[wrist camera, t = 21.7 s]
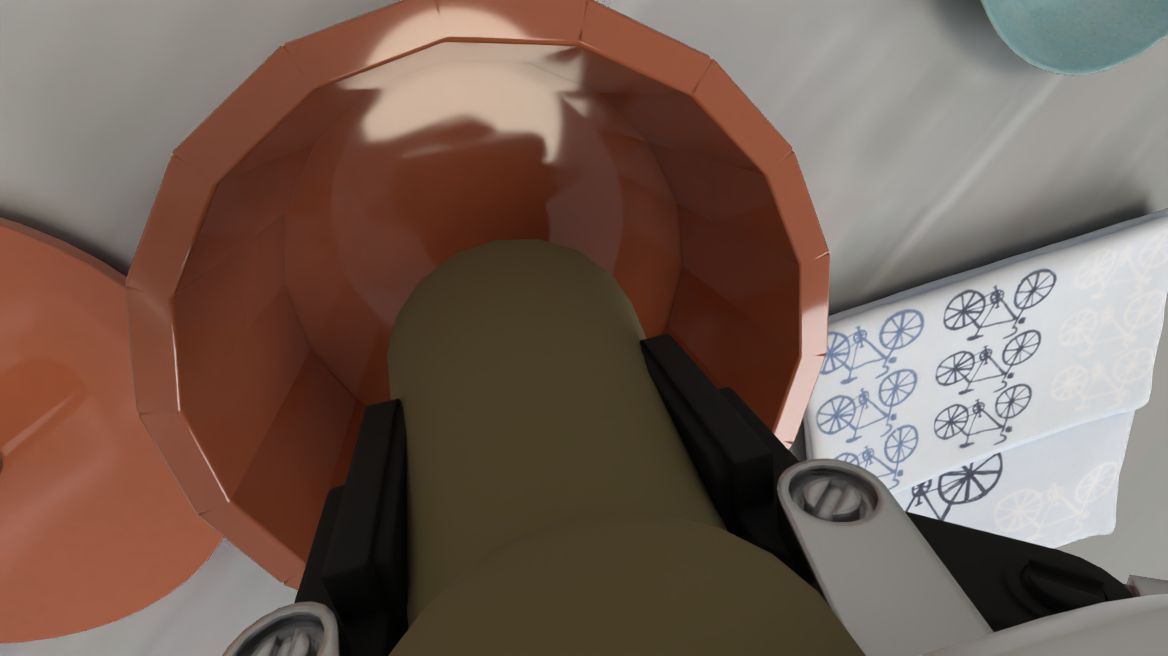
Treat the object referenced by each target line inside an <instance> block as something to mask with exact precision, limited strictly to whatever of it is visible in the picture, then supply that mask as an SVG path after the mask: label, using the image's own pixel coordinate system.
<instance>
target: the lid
mask: <svg viewBox="0 0 1168 656" xmlns="http://www.w3.org/2000/svg"><path fill="white" fill-rule="evenodd" d="M125 280H126V276H124V275H123V274H121V273H120V272H118V271H117V270H115V269H114V268H112V267H111V266H109V265H108V264H106V263H105V262H103V261H101V260H99V259H97V258H95V257H94V256H92V255H90V254H88V253H86V252H84V251H82V250H80V249H78V248H76V247H74V246H73V245H71V244H69V243H67V242H65V241H63V240H60V239H58V238H55V237H53V236H50V235H48V234H46V233H43V232H41V231H38V230H36V229H33V228H31V227H28V226H26V225H23V224H21V223H18V222H14V221H11V220H8V219H5V218H1V217H0V644H1V643H18V642H27V641H35V640H42V639H49V638H56V637H60V636H65V635H69V634H74V633H78V632H82V631H87V630H90V629H93V628H96V627H99V626H102V625H105V624H108V623H111V622H115V621H117V620H120V619H122V618H124V617H126V616H129V615H131V614H133V613H135V612H138V611H140V610H142V609H144V608H146V607H148V606H149V605H151V604H153V603H154V602H156V601H158V600H160V599H161V598H163V597H165V596H167V595H168V594H169V593H171V592H172V591H173V590H175V589H176V588H177V587H179V586H180V585H181V584H183V583H184V582H185V581H186V580H188V579H189V578H190V577H191V576H192V575H193V574H194V573H195V572H196V571H197V570H198V569H199V568H200V567H201V566H202V565H203V564H204V563H205V562H206V561H207V560H208V559H209V557H210V556H211V555H212V553H213V552H214V551H215V549H216V548H217V546H218V545H219V544H220V542H221V541H222V539H223V536H222V535H221V534H219V533H218V532H217V531H216V530H214V529H213V528H212V527H211V526H209V525H208V524H207V523H206V522H204V521H203V520H202V519H201V518H199V516H198V513H195V512H194V511H193V509H192V507H191V505H190V504H189V502H188V500H187V498H186V497H185V495H184V493H183V492H182V490H181V488H180V486H179V485H178V483H177V481H176V480H175V478H174V476H173V474H172V473H171V471H170V469H169V467H168V466H167V464H166V462H165V461H164V459H163V457H162V455H161V454H160V452H159V450H158V449H157V447H156V445H155V443H154V442H153V440H152V438H151V436H150V435H149V433H148V431H147V430H146V428H145V426H144V424H143V423H142V421H141V419H140V418H139V412H137V410H136V401H135V392H134V382H133V372H132V363H131V353H130V343H129V333H128V324H127V314H126V304H125V295H124V288H125V286H126V285H125Z"/></svg>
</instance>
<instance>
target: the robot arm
mask: <svg viewBox="0 0 1168 656" xmlns="http://www.w3.org/2000/svg"><path fill="white" fill-rule="evenodd" d="M640 345H641V350H642V353H643V356H644V359H645V363H646V366H647V370H648V372H649V374H650V376H651V377H652V379H653V381H654V383H655V385H656V387H657V389H658V391H659V393H660V395H661V397H662V399H663V401H664V403H665V405H666V407H667V410H668V412H669V414H670V416H671V418H672V420H673V422H674V424H675V426H676V428H677V430H678V432H679V434H680V436H681V438H682V440H683V442H684V444H685V446H686V448H687V451H688V453H689V455H690V457H691V459H692V461H693V463H694V465H695V467H696V469H697V471H698V473H699V475H700V477H701V479H702V481H703V483H704V485H705V487H706V490H707V492H708V494H709V496H710V498H711V500H712V502H713V504H714V506H715V508H716V510H717V512H718V514H719V516H720V517H721V518H722V519H723V521H724V523H725V526H726V528H727V531H728V532H729V533H731V534H733V535H735V536H737V537H739V538H741V539H743V540H745V541H747V542H749V543H751V544H753V545H755V546H757V547H759V548H761V549H763V550H765V551H767V552H769V553H771V554H773V555H774V556H776V557H777V558H778V559H779V560H780V561H782V562H783V563H784V564H785V565H786V566H788V567H789V568H790V569H791V570H792V571H794V572H795V573H796V574H797V575H798V576H800V577H801V578H802V579H803V580H804V581H805V582H807V583H808V584H809V585H810V586H811V587H813V588H814V589H815V590H816V591H817V592H819V594H820V595H821V596H822V597H823V599H824V600H825V601H826V603H827V604H828V605H829V607H830V608H831V609H832V611H833V612H834V613H835V615H836V616H837V617H838V619H839V620H840V621H841V623H842V624H843V625H844V627H845V628H846V629H847V631H848V632H849V633H850V635H851V636H852V637H853V639H854V640H855V641H856V643H857V644H858V645H859V647H860V648H861V649H862V651H863V652H864V653H865V655H866V656H1168V581H1167V580H1160V579H1154V578H1147V577H1141V576H1134V575H1129V578H1128V581H1127V584H1122V583H1121V582H1120V581H1118V580H1117V579H1116V578H1114V577H1113V576H1112V575H1110V574H1109V573H1107V572H1106V571H1105V570H1103V569H1102V568H1100V567H1098V566H1096V565H1094V564H1092V563H1090V562H1088V561H1086V560H1084V559H1082V558H1080V557H1077V556H1074V555H1071V554H1069V553H1066V552H1063V551H1060V550H1056V549H1053V548H1049V547H1045V546H1041V545H1037V544H1033V543H1029V542H1025V541H1021V540H1017V539H1013V538H1009V537H1005V536H1001V535H997V534H993V533H989V532H985V531H981V530H977V529H973V528H970V527H966V526H962V525H958V524H954V523H950V522H946V521H942V520H938V519H934V518H930V517H926V516H922V515H918V514H914V513H910V512H906V511H904V510H903V508H902V507H901V506H900V504H899V503H898V502H897V500H896V499H895V498H894V496H893V495H892V494H891V492H890V491H889V490H888V488H887V487H886V485H885V484H884V483H883V482H882V481H881V480H880V479H879V478H878V477H877V476H876V475H874V474H873V473H871V472H869V471H868V470H866V469H864V468H863V467H861V466H858V465H855V464H852V463H849V462H846V461H842V460H835V459H829V458H826V459H810V460H806V461H802V462H799V461H798V460H797V459H796V458H795V456H794V455H793V454H792V453H791V452H790V451H789V450H788V449H787V448H786V447H785V446H784V445H783V443H782V442H781V441H780V440H779V439H778V438H777V437H776V436H775V435H774V434H773V433H772V432H771V430H770V429H769V428H768V427H767V426H766V425H765V424H764V423H763V422H762V421H761V420H760V418H759V417H758V416H757V415H756V414H755V413H754V412H753V411H752V410H751V409H750V408H749V407H748V405H747V404H746V403H745V402H744V401H743V400H742V399H741V398H740V397H739V396H738V395H737V394H736V392H735V391H734V390H732V389H731V388H730V387H723V388H719V389H717V388H716V387H715V385H714V384H713V383H712V382H711V381H710V380H709V379H708V377H707V376H706V375H705V374H704V373H703V372H702V371H701V369H700V368H699V367H698V366H697V365H696V364H695V363H694V361H693V360H692V359H691V358H690V357H689V356H688V355H687V353H686V352H685V351H684V350H683V349H682V348H681V347H680V345H679V344H678V343H677V342H676V341H675V340H674V339H673V337H672V336H671V335H670V334H664V335H660V336H656V337H652V338H647V339H643V340H640ZM407 604H408V591H407V455H406V425H405V418H404V411H403V406H401V401H400V400H399V399H394V400H389V401H385V402H381V403H377V404H373V405H369V406H366V408H365V412H364V416H363V419H362V423H361V427H360V431H359V434H358V438H357V442H356V446H355V449H354V453H353V457H352V460H351V464H350V468H349V472H348V475H347V479H346V483H345V485H341V486H337V487H334V488H332V489H331V490H330V491H329V493H328V495H327V497H326V501H325V504H324V507H323V511H322V514H321V517H320V520H319V524H318V527H317V530H316V534H315V537H314V540H313V543H312V547H311V550H310V553H309V557H308V560H307V563H306V566H305V570H304V573H303V576H302V580H301V583H300V586H299V589H298V593H297V596H296V599H295V602H294V604H291V605H287V606H284V607H281V608H278V609H277V610H275V611H273V612H271V613H269V614H267V615H265V616H263V617H261V618H260V619H259V620H257V621H256V622H255V623H253V624H252V625H251V626H249V627H248V628H247V629H245V630H244V631H243V632H242V633H241V634H240V635H239V636H238V637H237V638H236V639H235V640H234V641H233V642H232V643H231V644H230V645H229V646H228V647H227V649H226V650H225V652H224V653H223V655H222V656H388V655H389V654H390V653H391V651H392V650H393V649H394V647H395V646H396V645H397V643H398V642H399V641H400V640H401V638H402V637H403V636H404V634H405V633H406V632H407V630H408V619H407Z"/></svg>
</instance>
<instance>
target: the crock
mask: <svg viewBox="0 0 1168 656" xmlns="http://www.w3.org/2000/svg"><path fill="white" fill-rule="evenodd" d="M522 239H540V240H543V241H547V242H550V243H554V244H557V245H561V246H565V247H568V248H572V249H575V250H578V251H579V252H581V253H582V254H584V255H585V256H587V257H588V258H590V259H591V260H593V261H594V262H596V263H597V264H598V265H600V266H601V267H603V268H604V269H606V270H607V271H609V272H610V274H611V275H612V276H613V278H614V279H615V280H616V282H617V283H618V284H619V286H620V287H621V289H622V290H623V291H624V293H625V294H626V295H627V297H628V298H629V300H630V301H631V303H632V305H633V308H634V310H635V312H636V315H637V317H638V319H639V322H640V324H641V327H642V329H643V331H644V334H645V336H646V338H652V337H656V336H660V335H664V334H670V335H671V336H672V337H673V339H674V340H675V341H676V342H677V343H678V344H679V345H680V347H681V348H682V349H683V350H684V351H685V352H686V353H687V355H688V356H689V357H690V358H691V359H692V360H693V361H694V363H695V364H696V365H697V366H698V367H699V368H700V369H701V371H702V372H703V373H704V374H705V375H706V376H707V377H708V379H709V380H710V381H711V382H712V383H713V384H714V385H715V387H716V388H717V389H719V388H723V387H730V388H731V389H732V390H734V391H735V392H736V394H737V395H738V396H739V397H740V398H741V399H742V400H743V401H744V402H745V403H746V404H747V405H748V407H749V408H750V409H751V410H752V411H753V412H754V413H755V414H756V415H757V416H758V417H759V418H760V420H761V421H762V422H763V423H764V424H765V425H766V426H767V427H768V428H769V429H770V430H771V432H772V433H773V434H774V435H775V436H776V437H777V438H778V439H779V440H780V441H781V442H782V443H783V445H784V446H785V447H786V448H787V449H788V450H789V449H790V447H791V446H792V444H793V443H792V442H794V441H795V439H796V436H797V433H798V430H799V428H800V425H801V422H802V420H803V417H804V414H805V411H806V409H807V406H808V403H809V401H810V398H811V395H812V392H813V390H814V387H815V384H816V382H817V379H818V376H819V374H820V371H821V368H822V365H823V363H824V360H825V357H826V354H825V353H827V345H828V309H829V273H830V254H829V253H828V251H829V250H828V247H827V244H826V241H825V238H824V236H823V233H822V230H821V227H820V224H819V221H818V218H817V215H816V213H815V210H814V207H813V204H812V201H811V198H810V195H809V193H808V190H807V187H806V184H805V181H804V178H803V175H802V172H801V170H800V167H799V164H798V161H797V158H796V155H795V153H794V152H793V151H792V147H791V146H790V145H789V143H788V142H787V141H786V140H785V139H784V138H783V137H782V136H781V134H780V133H779V132H778V131H777V130H776V129H775V128H774V126H773V125H772V124H771V123H770V122H769V121H768V120H767V119H766V117H765V116H764V115H763V114H762V113H761V112H760V111H759V110H758V108H757V107H756V106H755V105H754V104H753V103H752V102H751V100H750V99H749V98H748V97H747V96H746V95H745V94H744V93H743V91H742V90H741V89H740V88H739V87H738V86H737V85H736V84H735V82H734V81H733V80H732V79H731V78H730V77H729V76H728V74H727V73H726V72H725V71H724V70H723V69H722V68H721V67H720V65H719V64H718V63H717V62H716V61H715V60H714V59H711V58H710V57H709V55H707V54H705V53H702V52H700V51H698V50H696V49H694V48H692V47H690V46H688V45H686V44H684V43H682V42H680V41H677V40H675V39H673V38H671V37H669V36H667V35H665V34H663V33H661V32H659V31H657V30H655V29H653V28H650V27H648V26H646V25H644V24H642V23H640V22H638V21H636V20H634V19H632V18H630V17H628V16H625V15H623V14H621V13H619V12H617V11H615V10H613V9H611V8H609V7H607V6H605V5H603V4H601V3H598V2H596V1H594V0H401V1H398V2H396V3H393V4H390V5H387V6H385V7H382V8H379V9H377V10H374V11H371V12H368V13H366V14H363V15H360V16H358V17H355V18H352V19H349V20H347V21H344V22H341V23H339V24H336V25H333V26H330V27H328V28H325V29H322V30H320V31H317V32H314V33H311V34H309V35H306V36H303V37H301V38H298V39H295V40H292V41H290V42H287V43H285V44H284V46H280V47H279V48H278V49H277V50H276V51H275V52H274V53H273V54H272V55H271V56H270V57H269V58H267V59H266V60H265V61H264V62H263V63H262V64H261V65H260V66H259V67H258V68H257V69H256V70H255V71H254V72H253V73H252V74H251V75H250V76H249V77H248V78H247V79H246V80H245V81H244V82H243V83H242V84H241V85H240V86H239V87H238V88H237V89H236V90H235V91H234V92H233V93H232V94H231V95H230V96H229V97H228V98H227V99H226V100H225V101H224V102H223V103H222V104H221V105H219V106H218V107H217V108H216V109H215V110H214V111H213V112H212V113H211V114H210V115H209V116H208V117H207V118H206V119H205V120H204V121H203V122H202V123H201V124H200V125H199V126H198V127H197V128H196V129H195V130H194V131H193V132H192V133H191V134H190V135H189V136H188V137H187V138H186V139H185V140H184V141H183V142H182V143H181V144H180V145H179V146H178V147H177V148H176V149H175V150H174V151H173V155H172V156H171V157H170V160H169V162H168V165H167V168H166V171H165V173H164V176H163V179H162V182H161V184H160V187H159V190H158V193H157V195H156V198H155V201H154V204H153V206H152V209H151V212H150V215H149V217H148V220H147V223H146V225H145V228H144V231H143V234H142V236H141V239H140V242H139V245H138V247H137V250H136V253H135V256H134V258H133V261H132V264H131V267H130V269H129V272H128V275H127V277H126V280H125V285H126V286H125V288H124V295H125V304H126V314H127V324H128V333H129V343H130V353H131V363H132V372H133V382H134V392H135V401H136V410H137V412H139V418H140V419H141V421H142V423H143V424H144V426H145V428H146V430H147V431H148V433H149V435H150V436H151V438H152V440H153V442H154V443H155V445H156V447H157V449H158V450H159V452H160V454H161V455H162V457H163V459H164V461H165V462H166V464H167V466H168V467H169V469H170V471H171V473H172V474H173V476H174V478H175V480H176V481H177V483H178V485H179V486H180V488H181V490H182V492H183V493H184V495H185V497H186V498H187V500H188V502H189V504H190V505H191V507H192V509H193V511H194V512H195V513H198V516H199V518H201V519H202V520H203V521H204V522H206V523H207V524H208V525H209V526H211V527H212V528H213V529H214V530H216V531H217V532H218V533H219V534H221V535H222V536H223V537H224V538H226V539H227V540H228V541H229V542H231V543H232V544H233V545H234V546H236V547H237V548H238V549H239V550H241V551H242V552H243V553H244V554H246V555H247V556H248V557H249V558H251V559H252V560H253V561H254V562H256V563H257V564H258V565H259V566H261V567H262V568H263V569H264V570H266V571H267V572H268V573H269V574H271V575H272V576H273V577H274V578H276V579H277V580H278V581H279V582H282V583H283V582H284V585H285V586H288V587H291V588H293V589H296V590H298V589H299V586H300V583H301V580H302V576H303V573H304V570H305V566H306V563H307V560H308V557H309V553H310V550H311V547H312V543H313V540H314V537H315V534H316V530H317V527H318V524H319V520H320V517H321V514H322V511H323V507H324V504H325V501H326V497H327V495H328V493H329V491H330V490H331V489H332V488H334V487H337V486H341V485H345V483H346V479H347V475H348V472H349V468H350V464H351V460H352V457H353V453H354V449H355V446H356V442H357V438H358V434H359V431H360V427H361V423H362V419H363V416H364V412H365V408H366V406H369V405H373V404H377V403H381V402H385V401H389V400H391V397H390V384H389V371H388V358H387V353H388V349H389V345H390V340H391V336H392V332H393V327H394V323H395V319H396V316H397V314H398V313H399V311H400V310H401V308H402V307H403V305H404V304H405V302H406V300H407V299H408V297H409V296H410V294H411V293H412V291H413V290H414V288H415V287H416V285H417V284H418V282H419V281H421V280H422V279H423V278H424V277H426V276H427V275H428V274H430V273H431V272H432V271H433V270H435V269H436V268H437V267H439V266H440V265H441V264H442V263H444V262H445V261H446V260H448V259H449V258H450V257H451V256H453V255H456V254H458V253H461V252H464V251H467V250H469V249H472V248H475V247H478V246H480V245H483V244H486V243H489V242H492V241H497V240H522Z"/></svg>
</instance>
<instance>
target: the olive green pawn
mask: <svg viewBox="0 0 1168 656" xmlns="http://www.w3.org/2000/svg"><path fill="white" fill-rule="evenodd" d="M643 339H647V338H646V336H645V334H644V331H643V329H642V327H641V324H640V322H639V319H638V317H637V315H636V312H635V310H634V308H633V305H632V303H631V301H630V300H629V298H628V297H627V295H626V294H625V293H624V291H623V290H622V289H621V287H620V286H619V284H618V283H617V282H616V280H615V279H614V278H613V276H612V275H611V274H610V272H609V271H607V270H606V269H604V268H603V267H601V266H600V265H598V264H597V263H596V262H594V261H593V260H591V259H590V258H588V257H587V256H585V255H584V254H582V253H581V252H579V251H578V250H575V249H572V248H568V247H565V246H561V245H557V244H554V243H550V242H547V241H543V240H540V239H522V240H497V241H492V242H489V243H486V244H483V245H480V246H478V247H475V248H472V249H469V250H467V251H464V252H461V253H458V254H456V255H453V256H451V257H450V258H449V259H448V260H446V261H445V262H444V263H442V264H441V265H440V266H439V267H437V268H436V269H435V270H433V271H432V272H431V273H430V274H428V275H427V276H426V277H424V278H423V279H422V280H421V281H419V282H418V284H417V285H416V287H415V288H414V290H413V291H412V293H411V294H410V296H409V297H408V299H407V300H406V302H405V304H404V305H403V307H402V308H401V310H400V311H399V313H398V314H397V316H396V319H395V323H394V327H393V332H392V336H391V340H390V345H389V349H388V353H387V358H388V371H389V384H390V397H391V400H394V399H399V400H400V401H401V406H403V411H404V418H405V425H406V455H407V591H408V604H407V619H408V630H407V632H406V633H405V634H404V636H403V637H402V638H401V640H400V641H399V642H398V643H397V645H396V646H395V647H394V649H393V650H392V651H391V653H390V654H389V655H388V656H866V655H865V653H864V652H863V651H862V649H861V648H860V647H859V645H858V644H857V643H856V641H855V640H854V639H853V637H852V636H851V635H850V633H849V632H848V631H847V629H846V628H845V627H844V625H843V624H842V623H841V621H840V620H839V619H838V617H837V616H836V615H835V613H834V612H833V611H832V609H831V608H830V607H829V605H828V604H827V603H826V601H825V600H824V599H823V597H822V596H821V595H820V594H819V592H817V591H816V590H815V589H814V588H813V587H811V586H810V585H809V584H808V583H807V582H805V581H804V580H803V579H802V578H801V577H800V576H798V575H797V574H796V573H795V572H794V571H792V570H791V569H790V568H789V567H788V566H786V565H785V564H784V563H783V562H782V561H780V560H779V559H778V558H777V557H776V556H774V555H773V554H771V553H769V552H767V551H765V550H763V549H761V548H759V547H757V546H755V545H753V544H751V543H749V542H747V541H745V540H743V539H741V538H739V537H737V536H735V535H733V534H731V533H729V532H728V531H727V528H726V526H725V523H724V521H723V519H722V518H721V517H720V516H719V514H718V512H717V510H716V508H715V506H714V504H713V502H712V500H711V498H710V496H709V494H708V492H707V490H706V487H705V485H704V483H703V481H702V479H701V477H700V475H699V473H698V471H697V469H696V467H695V465H694V463H693V461H692V459H691V457H690V455H689V453H688V451H687V448H686V446H685V444H684V442H683V440H682V438H681V436H680V434H679V432H678V430H677V428H676V426H675V424H674V422H673V420H672V418H671V416H670V414H669V412H668V410H667V407H666V405H665V403H664V401H663V399H662V397H661V395H660V393H659V391H658V389H657V387H656V385H655V383H654V381H653V379H652V377H651V376H650V374H649V372H648V370H647V366H646V363H645V359H644V356H643V353H642V350H641V345H640V340H643Z"/></svg>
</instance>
